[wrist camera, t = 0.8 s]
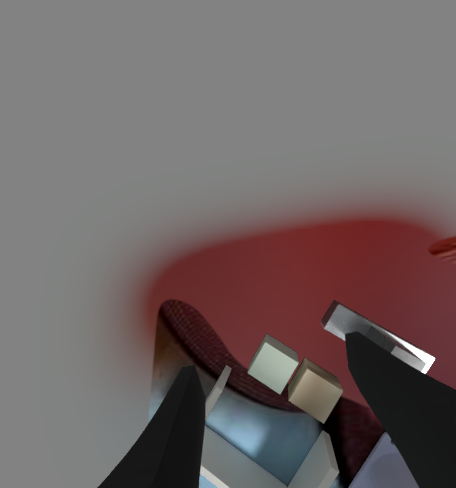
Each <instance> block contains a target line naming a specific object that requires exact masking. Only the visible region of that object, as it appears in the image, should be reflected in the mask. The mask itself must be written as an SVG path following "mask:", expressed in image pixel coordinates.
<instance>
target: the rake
mask: <svg viewBox="0 0 456 488" xmlns="http://www.w3.org/2000/svg"><path fill="white" fill-rule="evenodd" d="M321 324H322V325H323V327H324V329H326V330H328V331H329V332H331V333H333V334H334V335H336V336H338V337H339V338H341V339H343V340H345V334H347V333H352V332H357V331H358V332H360V333H361V334H363V335H364V336H366V337H367V338H369V339H370V340H372V341H373V342H375V343H376V344H378V345H379V346H381V347H382V348H384V349H385V350H387V351H388V352H390V353H391V354H393V355H394V356H396V357H398V358H399V359H401V360H402V361H404V362H406V363H407V364H409V365H410V366H412V367H414V368H416V369H417V370H419V371H421V372H423V373H424V374H426V372H427V371H428V369H429V367H430V366H431V364H432V363H433V361H434V360H435V358H434V357H432V356H431V355H429V354H428V353H426V352H425V351H424V350H422V349H421V348H419V347H417V346H415V345H413V344H412V343H410V342H408V341H407V340H405V339H403V338H401V337H399V336H398V335H396V334H394V333H392V332H391V331H389V330H387V329H385V328H384V327H382V326H380V325H378V324H376V323H374V322H373V321H371V320H369V319H368V318H366V317H364V316H362V315H360V314H359V313H357V312H355V311H353V310H352V309H350V308H348V307H346V306H344V305H343V304H341V303H339V302H337V301H336V300H333V302H332V303H331V305H330V307H329V308H328V310H327V312H326V313H325V315H324V317H323V319H322V320H321Z"/></svg>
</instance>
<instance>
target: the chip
mask: <svg viewBox="0 0 456 488" xmlns="http://www.w3.org/2000/svg"><path fill="white" fill-rule="evenodd" d="M342 393H343V389H342V387H341V385H340V382H339V380H338V378H337V377H336V376H335V375H333V374H331V373H329V372H328V371H327V370H325V369H323V368H321V367H320V366H318V365H317V364H315V363H313V362H312V361H310V360H309V359H307V358H305V357H304V359H303V361H302V363H301V364H300V366H299V368H298V370H297V371H296V373H295V375H294V376H293V378H292V380H291V381H290V383H289V385H288V398H289V401H290V402H291V403H293V404H294V405H296V406H298V407H299V408H301V409H302V410H304V411H305V412H307V413H308V414H310V415H311V416H313V417H314V418H316V419H317V420H319V421H320V422H322V423H323V424H324V423H325V421H326V419H327V418H328V416H329V414H330V413H331V411H332V409H333V408H334V406H335V404H336V403H337V401H338V400H339V398H340V396H341V395H342Z"/></svg>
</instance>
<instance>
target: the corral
mask: <svg viewBox="0 0 456 488" xmlns="http://www.w3.org/2000/svg"><path fill="white" fill-rule="evenodd" d="M231 370H232V368H230V367H229V366H227V365H226V366H225V368H224V370H223V372H222V373H221V375H220V377H219V379H218V380H217V382H216V384H215V386H214V387H213V389H212V391H211V393H210V394H209V396H208V398H207V400H206V418H205V420H206V419H207V417H208V415H209V414H210V412H211V410H212V408H213V407H214V405H215V403H216V401H217V400H218V398H219V396H220V394H221V393H222V391H223V389H224V386H225V384H226V381H227V379H228V377H229V374H230V372H231ZM200 474H201V475H203V476H204V477H205V478H206V479H208V480H209V481H210V482H212V483H213V484H214V485H215V486H217V487H218V488H330V486H331V485H332V483H333V482H334V480H335V478H336V477H337V475H338V474H339V470H338V466H337V462H336V458H335V454H334V451H333V447H332V443H331V439H330V435H329V434H328V433H326V432H325V431H323V430H322V432H321V434H320V435H319V437H318V438H317V440H316V442H315V443H314V445H313V446H312V448H311V450H310V451H309V453H308V454H307V456H306V458H305V459H304V461H303V463H302V464H301V466H300V467H299V469H298V471H297V472H296V474H295V475H294V477H293V479H292V480H291V482H290V483H289V485H288V487H287V486H286V485H285V484H283V483H282V482H281V481H279V480H278V479H277V478H275V477H274V476H273V475H271V474H270V473H269V472H267V471H266V470H265V469H263V468H262V467H261V466H259V465H258V464H257V463H255V462H254V461H253V460H251V459H250V458H248V457H247V456H246V455H244V454H243V453H242V452H240V451H239V450H238V449H236V448H235V447H234V446H232V445H231V444H230V443H228V442H227V441H226V440H224V439H223V438H222V437H220V436H219V435H218V434H216V433H215V432H214V431H212V430H211V429H210V428H208V427H207V426H205V431H204V440H203V450H202V459H201V468H200Z"/></svg>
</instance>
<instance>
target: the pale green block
mask: <svg viewBox="0 0 456 488" xmlns="http://www.w3.org/2000/svg"><path fill="white" fill-rule="evenodd" d="M298 364H299V361H298V355H297V352H296V351H295V350H293V349H291V348H290V347H288V346H286V345H285V344H283V343H282V342H280V341H278V340H277V339H275V338H274V337H272V336H270V335H269V334H266V336H265V337H264V339H263V341H262V343H261V344H260V346H259V348H258V349H257V351H256V353H255V355H254V357H253V358H252V360H251V363H250V366H249V369H248V374H250V375H251V376H253V377H254V378H256V379H257V380H259V381H260V382H262V383H263V384H265V385H266V386H268V387H269V388H271V389H272V390H274V391H275V392H277V393H278V394H281V392H282V391H283V389H284V387H285V386H286V384H287V382H288V380H289V379H290V377H291V375H292V374H293V372H294V370H295V368H296V367H297V365H298Z"/></svg>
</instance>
